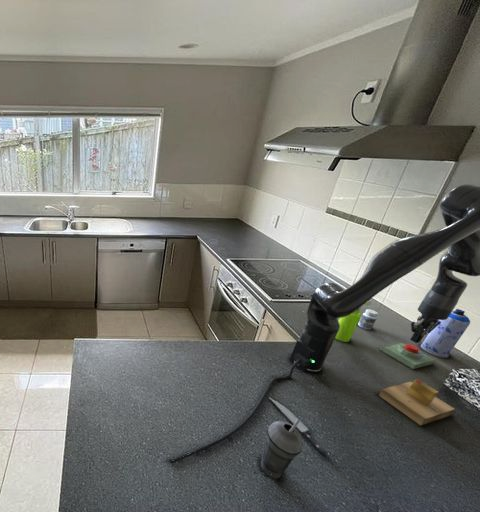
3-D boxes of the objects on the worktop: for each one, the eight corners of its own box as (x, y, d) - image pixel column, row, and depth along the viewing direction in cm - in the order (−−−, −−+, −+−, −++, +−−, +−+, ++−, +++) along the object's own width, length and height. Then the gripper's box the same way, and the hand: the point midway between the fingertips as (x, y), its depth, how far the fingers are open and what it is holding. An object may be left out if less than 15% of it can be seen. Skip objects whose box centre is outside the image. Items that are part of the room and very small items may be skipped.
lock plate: (420, 425, 84) (425, 418, 83) (378, 395, 94) (382, 388, 93) (450, 415, 88) (455, 408, 87) (406, 387, 98) (411, 380, 96)
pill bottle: (359, 327, 129) (367, 312, 126) (356, 322, 133) (363, 307, 130) (372, 331, 127) (380, 315, 124) (369, 325, 131) (376, 310, 128)
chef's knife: (275, 396, 92) (268, 397, 92) (276, 394, 92) (269, 395, 91) (332, 455, 75) (323, 457, 74) (334, 453, 75) (325, 455, 74)
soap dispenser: (345, 344, 118) (364, 304, 110) (328, 334, 124) (346, 295, 116) (355, 342, 119) (375, 302, 111) (338, 332, 125) (356, 294, 118)
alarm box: (412, 369, 106) (418, 361, 104) (382, 351, 115) (386, 343, 113) (431, 364, 109) (437, 356, 107) (400, 347, 118) (404, 339, 116)
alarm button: (413, 354, 108) (415, 350, 108) (402, 348, 112) (404, 344, 111) (419, 352, 109) (421, 349, 109) (408, 346, 112) (410, 343, 112)
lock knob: (429, 404, 88) (439, 391, 86) (426, 405, 87) (435, 392, 85) (409, 391, 92) (418, 378, 90) (406, 392, 92) (414, 379, 90)
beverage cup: (275, 453, 75) (299, 400, 67) (294, 484, 69) (323, 429, 61) (249, 453, 75) (270, 400, 67) (265, 484, 68) (290, 430, 60)
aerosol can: (452, 355, 114) (480, 314, 106) (442, 359, 111) (471, 318, 104) (425, 342, 121) (450, 303, 113) (416, 346, 118) (441, 306, 110)
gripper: (440, 311, 97) (415, 350, 104) (463, 307, 101) (438, 345, 107) (413, 300, 104) (391, 337, 111) (436, 296, 107) (413, 332, 114)
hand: (414, 341), depth 109 cm, fingers closed
